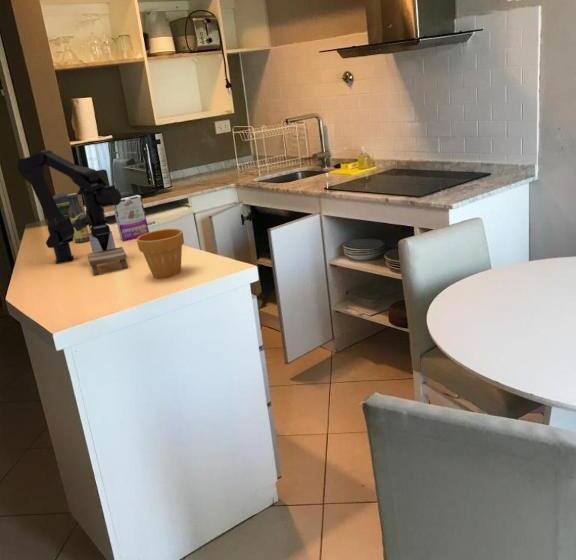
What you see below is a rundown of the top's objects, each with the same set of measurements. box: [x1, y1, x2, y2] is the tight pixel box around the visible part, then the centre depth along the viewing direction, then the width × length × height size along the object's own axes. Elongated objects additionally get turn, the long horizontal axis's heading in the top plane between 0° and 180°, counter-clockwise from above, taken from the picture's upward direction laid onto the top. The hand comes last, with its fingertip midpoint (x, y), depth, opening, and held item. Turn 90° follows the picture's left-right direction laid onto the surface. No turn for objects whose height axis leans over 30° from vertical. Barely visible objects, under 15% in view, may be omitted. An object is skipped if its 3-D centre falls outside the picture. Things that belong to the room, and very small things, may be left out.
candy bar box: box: [112, 194, 150, 242], centre depth 253 cm, size 11×5×16 cm, turn 118°
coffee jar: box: [52, 192, 70, 218], centre depth 273 cm, size 10×8×19 cm
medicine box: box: [88, 230, 117, 253], centre depth 224 cm, size 8×4×9 cm, turn 58°
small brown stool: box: [86, 246, 128, 276], centre depth 214 cm, size 12×12×5 cm
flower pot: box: [136, 228, 185, 279], centre depth 197 cm, size 14×14×13 cm
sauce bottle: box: [67, 192, 90, 244], centre depth 258 cm, size 6×6×20 cm
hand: (103, 248), depth 225 cm, fingers closed on medicine box, 9 cm apart
